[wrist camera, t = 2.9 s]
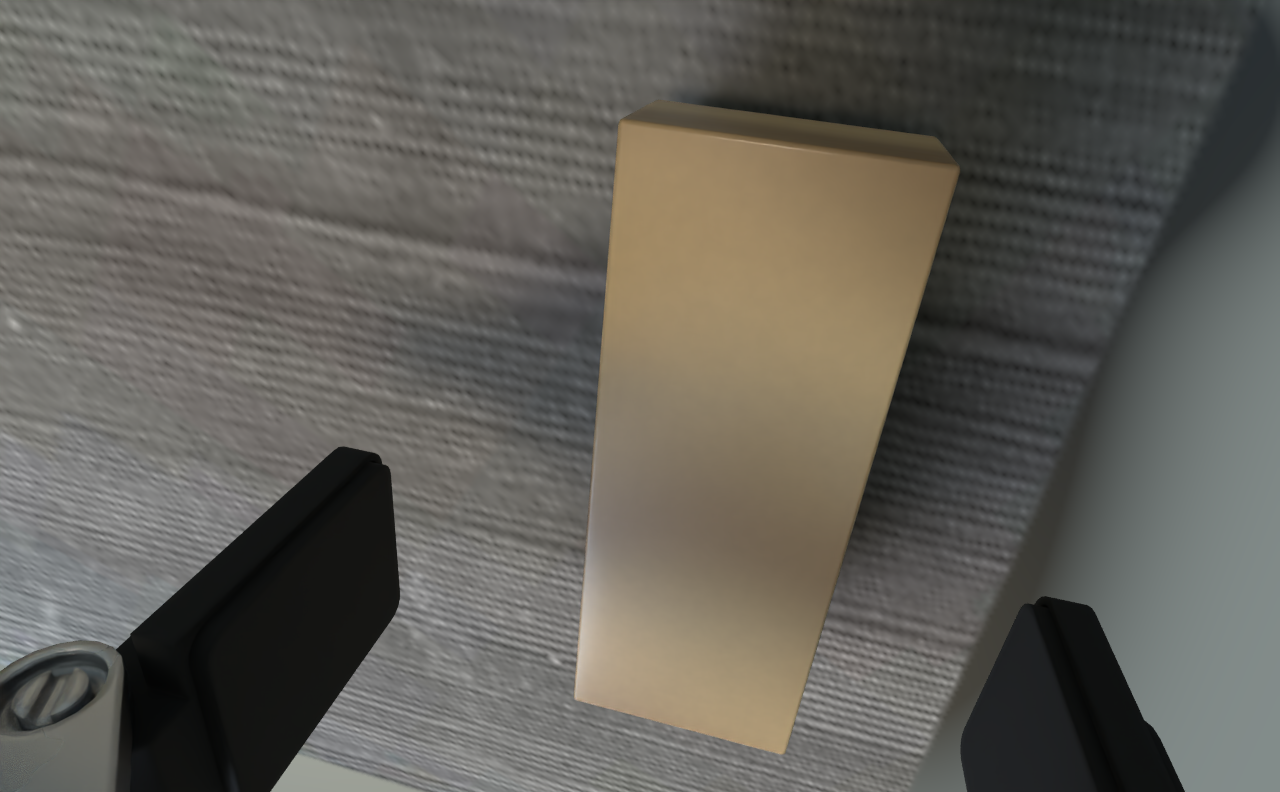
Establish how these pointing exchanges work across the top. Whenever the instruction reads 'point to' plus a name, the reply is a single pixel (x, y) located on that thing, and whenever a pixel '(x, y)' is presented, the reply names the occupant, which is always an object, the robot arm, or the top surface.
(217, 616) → the robot arm
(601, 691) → the tan block
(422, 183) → the top surface
